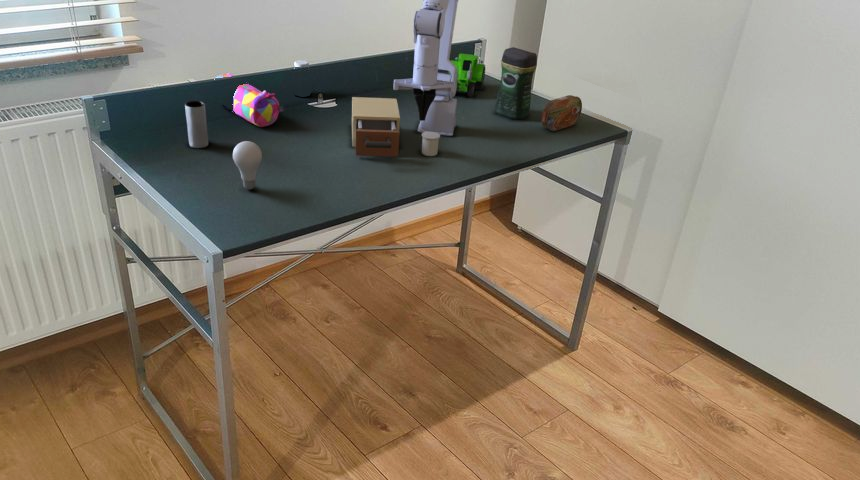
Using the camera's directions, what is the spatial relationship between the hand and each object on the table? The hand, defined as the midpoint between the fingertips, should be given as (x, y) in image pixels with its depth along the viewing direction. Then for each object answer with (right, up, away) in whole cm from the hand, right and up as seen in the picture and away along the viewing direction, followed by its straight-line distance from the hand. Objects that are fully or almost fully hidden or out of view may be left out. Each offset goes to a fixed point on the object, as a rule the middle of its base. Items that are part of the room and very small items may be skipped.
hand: (421, 119), depth 177 cm
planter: (-54, -6, +1) cm, 55 cm away
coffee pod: (+2, -7, +7) cm, 10 cm away
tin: (+39, +4, +28) cm, 48 cm away
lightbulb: (-38, -19, -17) cm, 46 cm away
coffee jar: (+26, +9, +34) cm, 44 cm away
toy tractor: (+13, +20, +49) cm, 54 cm away
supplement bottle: (-35, +15, +35) cm, 51 cm away
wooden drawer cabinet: (-12, -2, +13) cm, 18 cm away
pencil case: (-47, +5, +19) cm, 51 cm away
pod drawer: (-11, -7, +3) cm, 14 cm away
